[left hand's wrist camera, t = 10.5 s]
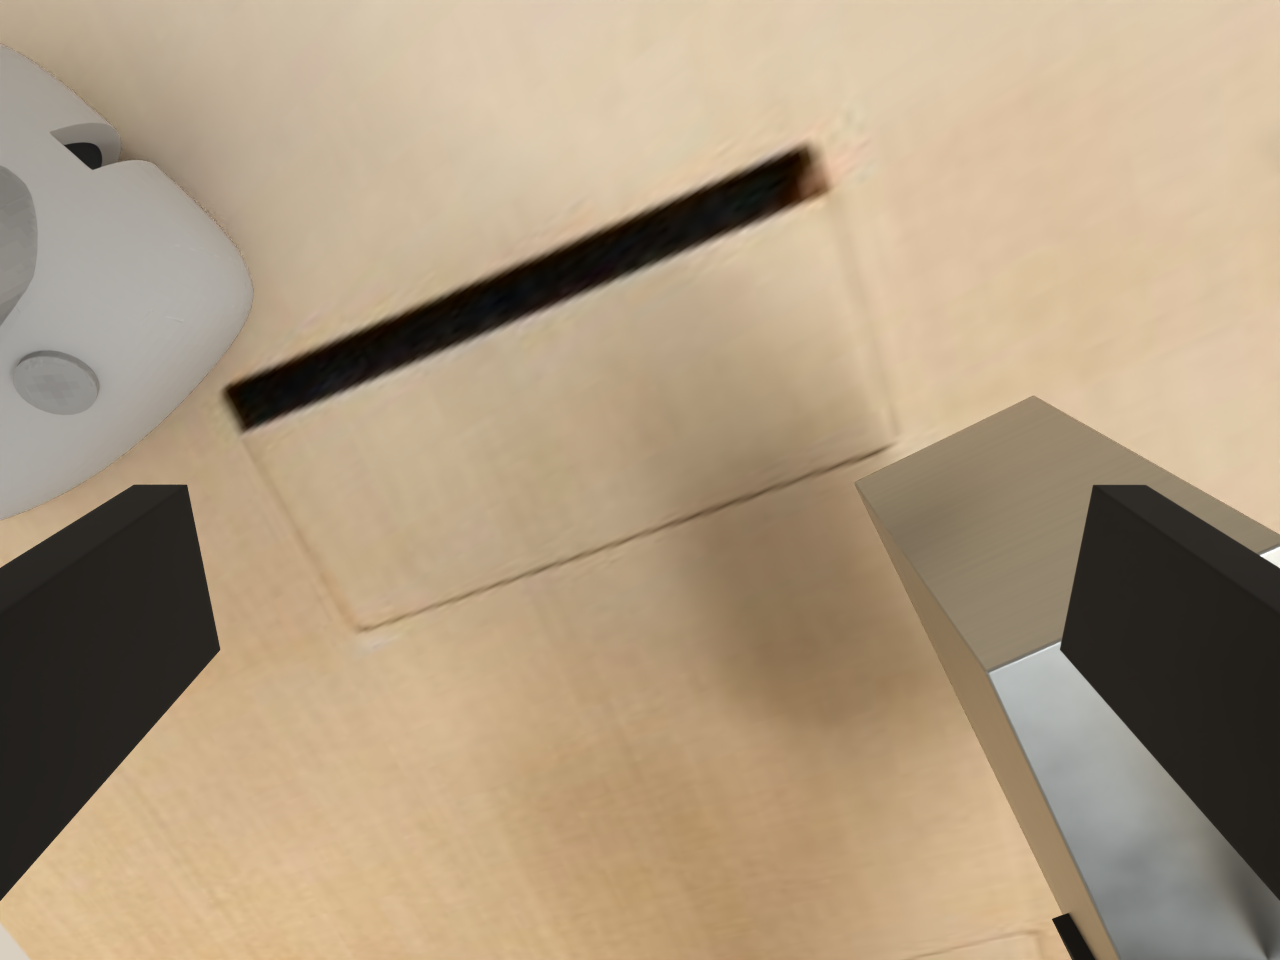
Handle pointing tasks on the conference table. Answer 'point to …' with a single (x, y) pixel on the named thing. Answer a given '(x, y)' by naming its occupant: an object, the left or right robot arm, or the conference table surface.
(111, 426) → the projector
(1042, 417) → the box
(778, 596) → the conference table surface
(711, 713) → the conference table surface
